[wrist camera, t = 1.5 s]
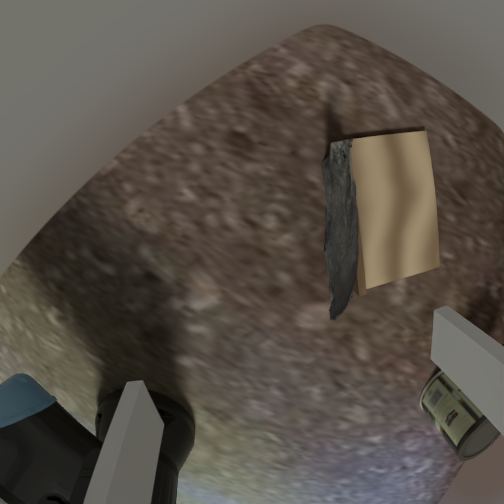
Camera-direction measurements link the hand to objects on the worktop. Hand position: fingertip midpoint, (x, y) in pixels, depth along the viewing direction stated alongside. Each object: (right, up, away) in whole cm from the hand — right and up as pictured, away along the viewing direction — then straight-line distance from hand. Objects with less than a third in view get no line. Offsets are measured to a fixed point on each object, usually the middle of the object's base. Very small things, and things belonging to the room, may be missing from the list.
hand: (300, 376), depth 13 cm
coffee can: (+31, -19, +33) cm, 49 cm away
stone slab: (+6, +8, +24) cm, 26 cm away
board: (+15, +10, +24) cm, 30 cm away
